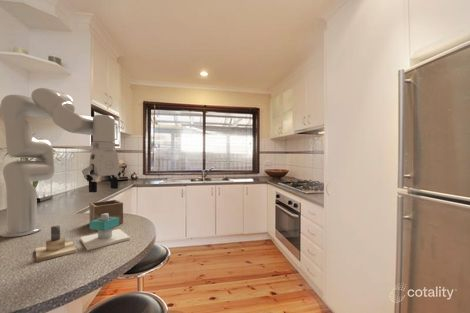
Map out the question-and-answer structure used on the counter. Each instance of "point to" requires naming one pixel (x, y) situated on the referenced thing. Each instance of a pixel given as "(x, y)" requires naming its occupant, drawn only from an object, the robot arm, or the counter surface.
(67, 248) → the stand
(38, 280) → the counter surface
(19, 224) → the robot arm
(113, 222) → the teal square frame
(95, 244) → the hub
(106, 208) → the tool caddy
